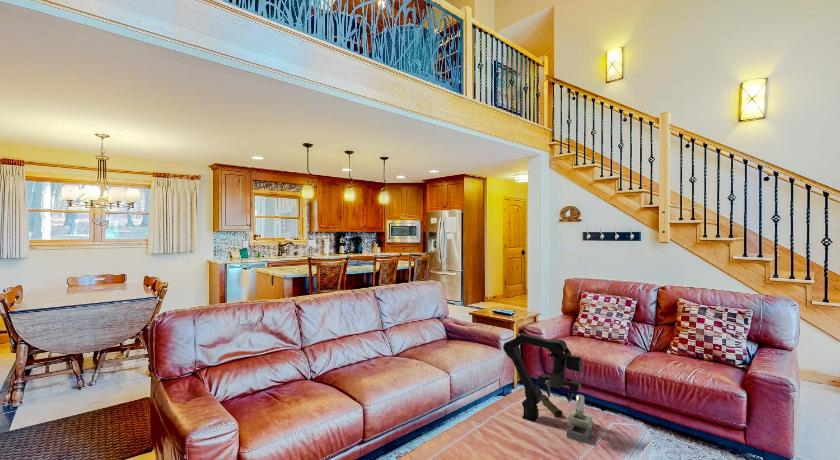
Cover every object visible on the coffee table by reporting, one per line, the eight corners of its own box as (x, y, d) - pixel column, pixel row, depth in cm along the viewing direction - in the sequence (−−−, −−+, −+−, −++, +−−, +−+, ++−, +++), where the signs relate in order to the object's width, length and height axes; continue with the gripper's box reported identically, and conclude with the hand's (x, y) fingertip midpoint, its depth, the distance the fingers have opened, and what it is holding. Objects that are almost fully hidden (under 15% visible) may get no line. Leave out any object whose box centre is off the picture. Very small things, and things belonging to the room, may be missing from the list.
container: (566, 426, 185) (566, 417, 185) (571, 417, 193) (571, 409, 193) (589, 432, 179) (589, 424, 179) (593, 423, 187) (593, 415, 187)
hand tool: (562, 418, 193) (562, 408, 193) (555, 418, 193) (555, 409, 192) (546, 401, 212) (546, 392, 212) (539, 401, 211) (539, 393, 211)
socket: (566, 437, 175) (566, 430, 175) (571, 429, 182) (571, 422, 182) (587, 444, 169) (587, 437, 169) (591, 435, 177) (591, 428, 177)
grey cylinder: (577, 424, 184) (577, 397, 184) (575, 420, 188) (575, 394, 188) (584, 424, 184) (585, 398, 184) (582, 421, 188) (583, 394, 187)
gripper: (534, 368, 182) (534, 400, 182) (575, 376, 172) (575, 411, 172) (541, 361, 192) (541, 392, 192) (581, 369, 181) (581, 402, 181)
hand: (558, 399), depth 184 cm, fingers open, 9 cm apart
